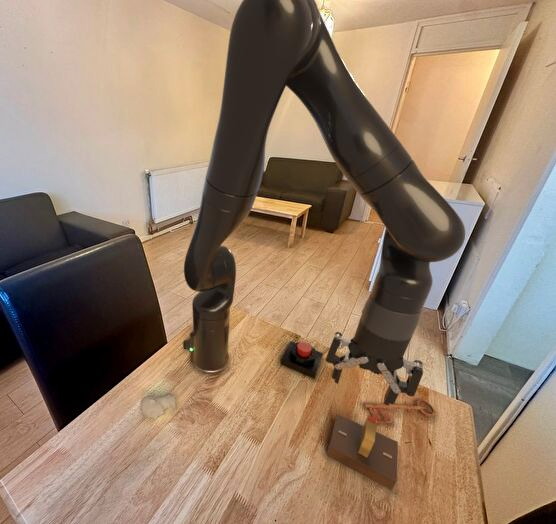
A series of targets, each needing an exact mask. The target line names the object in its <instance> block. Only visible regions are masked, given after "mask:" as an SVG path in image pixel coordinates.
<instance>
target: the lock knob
mask: <svg viewBox="0 0 556 524" xmlns="http://www.w3.org/2000/svg"><path fill="white" fill-rule="evenodd" d="M377 421H378V420H377V418H374V417H372V415H369V414H367V415H366V418H365V421H364V423H363V428H362V431H361V436H360V443H359V449H358V453H359V454H361V455H363V456H365V457H368V455H369V453H370V451H371V449H372V446H373V444H374V442H375V434H376V432H377Z"/></svg>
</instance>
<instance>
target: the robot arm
mask: <svg viewBox="0 0 556 524" xmlns="http://www.w3.org/2000/svg"><path fill="white" fill-rule="evenodd" d="M226 53H227V54H226V62H225V70H224V80H223V88H222V97H221V104H220V111H219V118H218V121H217V126H216V130H215V134H214V138H213V141H212V148H211V153H210V157H209V161H208V165H207V170H206V172H205V173H206V174H205V179H204V183H203V188H202V193H201V200H200V205H199V209H198V215H197V219H196V223H195V227H194V230H193V233H192V236H191V239H190V242H189V245H188V247H187V250H186V253H185V258H184V263H183V276H184V280H185V283H186V285H187V286H188V287H189V289H191V290H192V291H194V292H198V293H196V294H195V295H194V297H193V298H192V303H191V305H192V306H191V307H192V330H191V332H190V333H189V338H188V339H185V340H184V341H183V343H182V347H183V350H188V351H189V355H190V359H189V360H190V362H192V363H193V365H194V368H195V369H196V370H197V371H199V372H201V373H203V374H207V375H215V374H219V373H221V372H223V371H224V370H225V369H226V368H227V366H228V363H229V362H228V361H229V360H230V357H229V337H230V320H231V319H230V318H231V317H230V315H231V307H232V304H233V302H234V295H235V287H236V281H237V264H236V259H235V255H234V254H233V252H232V251H231V248H229V247H227V246H226V245H223V244H224V242H225V241H226V240H227V239H229V237H231V236H232V234H233V233H234V232H235V231H237V230H238V228H239V227H240V226H241V225H242V224H243V222H245V220H246V219H247V218H248V216H249V214H250V213H251V211H252V208H253V206H254V204H255V201H256V199H257V195H258V193H259V190H260V187H261V184H262V181H263V177H264V170H265V160H266V146H267V145H266V144H267V143H266V142H267V137H268V134H269V131H270V126H271V123H272V121H273V117H274V116H275V113H276V110H277V108H278V106H279V102H280V100H281V99H282V96H283V93H284V91H285V90H286V88H288V90H290V91H291V92H292V93H293V94H294V95H295V96H296V97H297V98H298V100H299V101H300V102H301V103H302V104H303V106H304V107H305V108H306V110H307V111H308V113H309V115H310V116H311V118H312V119H313V121H314V123H315V124H316V126H317V129H318V130H319V133H320V134H321V136H322V140H323V141H324V143H325V146H326V147H327V149H328V152H329V153H330V155H331V157H332V159H333V161H334V162H335V164H336V165H337V167H338V169H339V170H340V172H341V173H342V175H343V176H344V177H345V178H346V180H347V181H348V183H349V184H350V185H351V186H352V187H353V189H354V190H355V192H356V193H357V194H358V195H359V196H360V198H361V199H362V200H363V201H364V202H365V203H366V204H367V205H368V206H370V208H371V209H372V210H373V212H375V213H376V215H377V216H378V219H379V220H380V221H381V223H382V225H383V226H384V227H385V230H384V235H383V240H382V246H381V253H380V261H379V267H378V271H377V273H376V276H375V278H374V281H373V284H372V287H371V290H370V293H369V296H368V297H367V299H366V301H365V303H364V306H363V308H362V310H361V315H360V318H359V320H358V323H357V327H356V330H355V333H354V337H352V338H351V339H349V338H347V337H344V336H343V333H341V332H340V331H336V332H335V333H334V335H333V338H332V341H331V344H330V346H329V349H328V352H327V354H326V357H325V361H326V363H328V364H332V365H333V370H332V373H331V379H333V380H334V381H333V383H335V384H339V382H340V379H341V375H342V372H343V370H344V369H346V368H349V369H351V368H354V367H356V366H359V368H360V369H362V370H366V371H369V372H372V373H373V374H375V375H382V376H383V378H384V380H385V382H386V383H387V384H388V386H387V389H386V391H385V394H384V395H383V396H384V397H383V404H385V405H389V404H390V405H395V402H396V401H397V399H398V397H399V395H400V394H406V395H407V396H408V397H414V396H415V395H416V393H417V390H418V387H419V385H420V383H421V380H422V377H423V375H424V368H423V362H422V361H421V360H419V359H415V360H414V361H412V360H409V359H405V358H404V355H405V353H406V351H407V349H408V347H409V344H410V342H411V340H412V338H413V336H414V333H415V331H416V329H417V327H418V324H419V322H420V319H421V318H420V317H421V313H422V311H423V308H424V306H425V304H426V302H427V299H428V297H429V294H430V292H431V289H432V288H433V287H432V286H433V276H432V272H431V268H430V267H431V266H430V265H431V263H438V262H442V261H445V260H447V259H449V258H452V257H453V256H454V255H456V254H457V253H458V252H459V251H460V250H461V248H462V246H463V245H464V244H465V243H464V242H465V240H466V227H465V224H464V222H463V220H462V219H461V217H460V216H459V214H458V213H457V212H456V210H455V209H454V208H453V207H452V205H451V204H450V203H449V202H448V201H447V199H445V198H444V197H443V195H442V194H441V193H440V192H439V191H438V190H437V189H436V188H435V187H434V186H433V185H432V184H431V183H430V182H429V181H428V180H427V178H426V177H425V176H424V175H423V174H422V172H421V170H420V169H419V167H418V165H417V164H416V162H415V160H414V159H413V158H412V156H411V155H410V153H409V152H408V150H407V149H406V147H405V146H404V144H402V142H401V141H400V139H399V138H398V137H397V136H396V134H395V133H394V132H393V130H392V129H391V128H390V127H389V125H388V123H387V122H386V121H385V120H384V119H383V117H382V116H381V114H379V111H377V110H376V108H375V107H374V106H373V104H372V103H371V102H370V101H369V99H368V98H367V96H366V95H365V94H364V92H363V91H362V89H361V88H360V86H359V85H358V84H357V82H356V80H355V79H354V78H353V75H352V74H351V72H350V71H349V69H348V68H347V66H346V64H345V63H344V60H343V58H342V57H341V55H340V53H339V52H338V49H337V47H336V45H335V43H334V41H333V39H332V36H331V34H330V33H329V30H328V28H327V25H326V23H325V21H324V19H323V17H322V15H321V12H320V10H319V7H318V4H317V1H316V0H242V1H241V2H240V5H239V6H238V8H237V10H236V12H235V15H234V18H233V21H232V24H231V28H230V33H229V38H228V45H227V52H226ZM344 347H347V348H348V351H346V353H344V354H341V355H338V354H337V351H338V350H341V349H343V348H344ZM402 368H404V369H405V372H406V374H407V375H408V376H407V378H406V381H403V380H401V377H400V376H399V374H398V373H397V370H399V369H402Z"/></svg>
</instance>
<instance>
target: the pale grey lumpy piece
mask: <svg viewBox="0 0 556 524" xmlns="http://www.w3.org/2000/svg"><path fill="white" fill-rule="evenodd" d="M176 408H177V403H176V399H175V396H174V394H173V393H170V392H169V393H167V394H166V395H163V396H162V395H161V396H157V395H155V394H146V395H144V396H143V397H142V398H141V400H140V404H139V409H140V412H141V414H142V415H143V416H144V417H146V418H147V419H154V420H157V419H158V418H159V417H161V416H163V415H164V414H165V412H166V410H172V411H174V410H175V409H176Z"/></svg>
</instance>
